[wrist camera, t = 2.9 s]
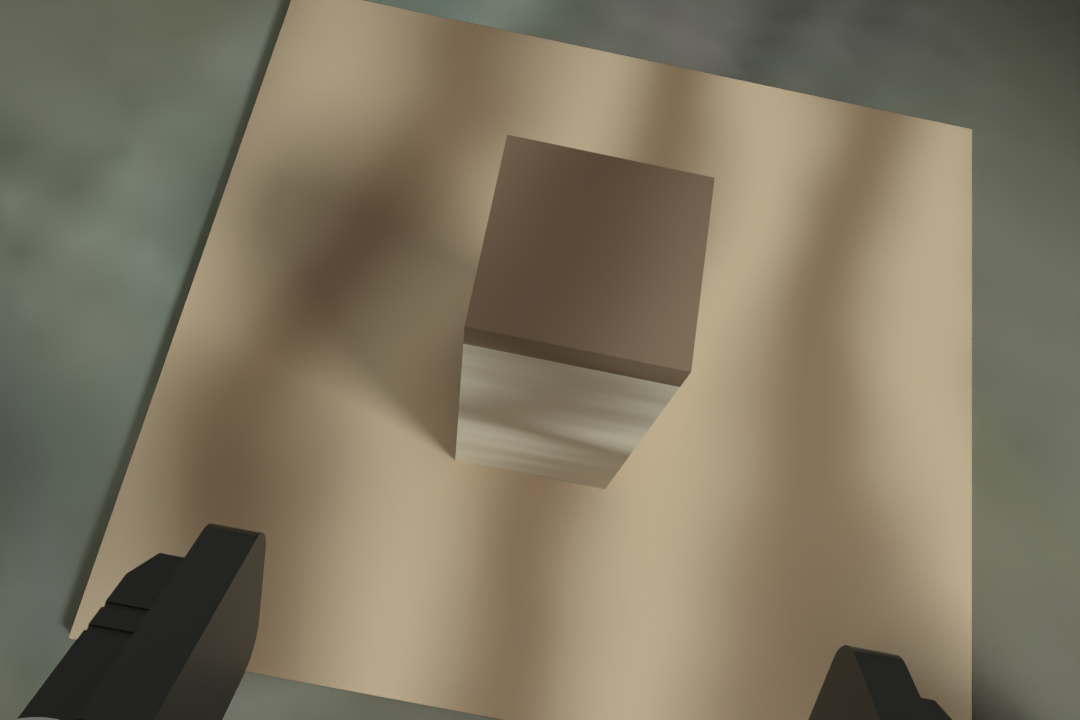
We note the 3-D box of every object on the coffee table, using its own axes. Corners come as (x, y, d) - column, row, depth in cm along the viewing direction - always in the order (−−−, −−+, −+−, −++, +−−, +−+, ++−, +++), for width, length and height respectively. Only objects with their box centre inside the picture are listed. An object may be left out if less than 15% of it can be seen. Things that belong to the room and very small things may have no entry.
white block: (625, 351, 26) (715, 177, 18) (604, 489, 25) (691, 372, 16) (484, 322, 26) (507, 134, 18) (455, 460, 24) (464, 326, 16)
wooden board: (964, 138, 30) (971, 129, 30) (960, 805, 23) (971, 807, 23) (298, -3, 30) (295, -14, 29) (76, 639, 22) (68, 637, 22)
